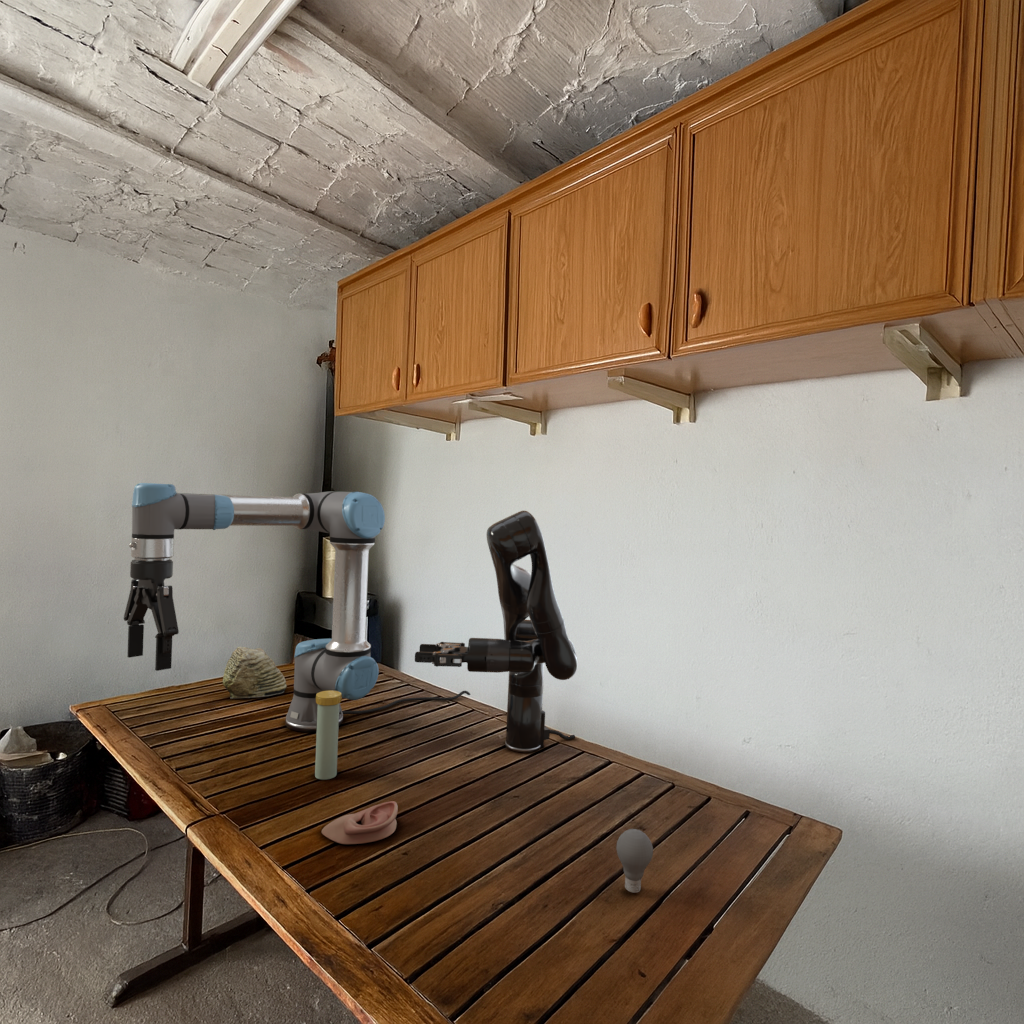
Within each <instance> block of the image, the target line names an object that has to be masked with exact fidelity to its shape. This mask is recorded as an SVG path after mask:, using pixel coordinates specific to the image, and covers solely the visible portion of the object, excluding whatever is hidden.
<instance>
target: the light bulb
mask: <svg viewBox="0 0 1024 1024" xmlns="http://www.w3.org/2000/svg"><path fill="white" fill-rule="evenodd" d="M615 849H616V854H617V857H618V859H619V861H620V863H621V865H622V867H623V873H624V874H623V875H624V876H625V878H624V888H625V890H627V891H628V892H630V893H634V894H635V893H639V892H640V891H641V889H642V887H641V886H642V879H643V877H644V875H645V871H646V868H647V867H648V866H649V864H650V863H651V861H652V859H653V855H654V847H653V843H652V841H651V838H649V836H648V835H647V834H646V833H645V832H643V831H642V830H641V829H636V828H629V829H627V830H625V831H623V832H622V833H621V834H620V835H619V837H618V839H617V841H616V847H615Z"/></svg>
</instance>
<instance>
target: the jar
mask: <svg viewBox="0 0 1024 1024" xmlns="http://www.w3.org/2000/svg"><path fill="white" fill-rule="evenodd" d="M339 726H340V725H339V704H336V705H330V706H323V705H318V708H317V732H316V733H315V735H316V736H315V763H314V776H315V778H316V779H318V780H324V781H325V780H330V779H334V778H335V777H336V776H337V775H338V752H339V751H338V750H339V749H338V748H339Z"/></svg>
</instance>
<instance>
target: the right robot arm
mask: <svg viewBox="0 0 1024 1024" xmlns="http://www.w3.org/2000/svg"><path fill="white" fill-rule="evenodd" d="M486 542H487V547H488V550H489V553H490V557H491V561H492V564H493V568H494V572H495V578H496V585H497V593H498V599H499V604H500V609H501V613H502V620H503V636H504V639H503V638H491V637H490V638H489V637H488V638H487V637H470V638H469V639H468V643H467V644H468V645H467V646H466V643H465V642H450V641H440V642H437V643H420V645H419V651H415V653H414V662H415V663H423V664H424V663H426V664H432V665H433V666H434V667H454V668H461V667H462V666H463V663H466V664H467V665H466V666H467V667H466V669H467V672H470V673H494V674H495V673H498V674H499V673H508V684H507V707H506V725H505V726H506V727H505V741H504V742H505V744H504V745H505V747H506V748H507V750H510V751H512V752H517V753H533V752H537V751H539V750H541V749H544V747H545V741H547V740H550V738H551V737H550V736H551V735H556V736H558V737H560V738H561V739H563V740H566V741H570V740H574V739H576V735H575V734H571V735H565V734H563V733H562V732H560V731H558V730H554V729H550V728H548V726H546V711H545V710H544V709H543V704H544V681H545V679H544V678H545V667H546V669H547V671H548V673H549V674H550V675H551V676H552V677H553V678H554V679H556V680H559V681H567V680H569V679H571V678H573V676H575V674H576V672H577V670H578V667H579V666H578V663H579V662H578V658H577V652H576V647H575V644H574V643H573V641H572V640H571V639H569V636H568V633H567V627H566V622H565V619H564V617H563V612H562V611H561V608H560V605H559V603H558V599H557V595H556V593H555V589H554V584H553V579H552V573H551V567H550V563H549V558H548V553H547V548H546V544H545V539H544V536H543V531H542V530H541V526H540V525H539V523H538V521H537V519H536V518H535V517H534V515H532V513H531V512H529V511H528V510H520V511H518V512H516V513H513V514H511V515H509V516H507V517H505V518H502V519H500V520H499V521H496V522H494V523H492V524H491V525H490V526H488V527H487V530H486ZM528 556H530V557H529V558H530V562H531V571H530V572H529V571H528V570H527V569H524V568H523V567H521V566H519V565H517V564H514V563H516V562H517V561H520V560H522V559H524V558H526V557H528ZM528 618H529V619H528ZM568 736H570V737H568Z"/></svg>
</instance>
